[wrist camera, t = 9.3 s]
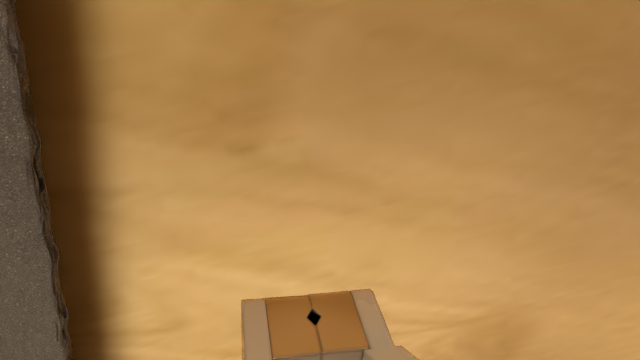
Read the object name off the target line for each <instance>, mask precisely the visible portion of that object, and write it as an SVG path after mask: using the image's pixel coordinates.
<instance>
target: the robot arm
mask: <svg viewBox="0 0 640 360" xmlns="http://www.w3.org/2000/svg"><path fill="white" fill-rule="evenodd" d="M241 335H242V360H418V359H417V358H416V357H414V356H413V355H412V354H411V353H409V352H408V351H407V350H406V349H404V348H403V347H402V346H394V343H393V341H392V338H391V335H390V333H389V330H388V328H387V325H386V323H385V320H384V318H383V315H382V313H381V310H380V308H379V305H378V303H377V300H376V298H375V295H374V293H373V291H372V290H371V289H363V290H352V291H340V292H330V293H320V294H310V295H304V296H288V297H272V298H265V299H264V298H262V299H247V300H241Z"/></svg>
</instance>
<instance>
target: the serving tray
mask: <svg viewBox="0 0 640 360" xmlns="http://www.w3.org/2000/svg"><path fill="white" fill-rule="evenodd" d="M41 147H42V141H41V137H40V133H39V129H38V125H37V121H36V116H35V112H34V107H33V102H32V96H31V90H30V83H29V75H28V67H27V59H26V50H25V42H24V39H23V36H22V34H21V31H20V28H19V24H18V21H17V15H16V6H15V0H0V360H72V358H71V352H72V343H71V339H70V336H69V332H68V327H67V323H68V318H69V311H68V309H67V306H66V303H65V299H64V294H63V290H62V287H61V284H60V281H59V273H58V263H59V256H60V251H59V249H58V247H57V245H56V242H55V240H54V238H53V234H52V230H51V226H50V222H51V212H52V207H51V204H50V200H49V196H48V192H47V187H46V182H45V177H44V173H43V169H42V165H41V161H40V156H41Z"/></svg>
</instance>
